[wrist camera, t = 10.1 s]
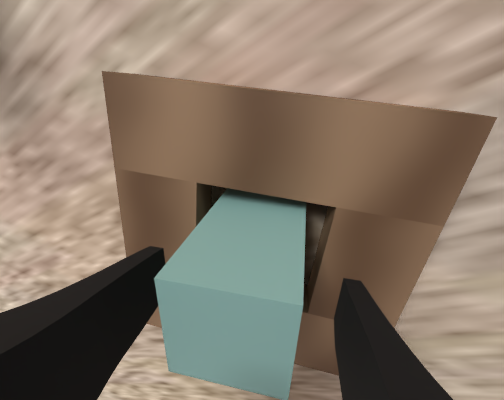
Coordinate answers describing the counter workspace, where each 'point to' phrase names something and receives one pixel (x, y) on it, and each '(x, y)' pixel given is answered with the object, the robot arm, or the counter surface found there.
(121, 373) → the counter surface
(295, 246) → the teal peg
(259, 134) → the walnut socket block
